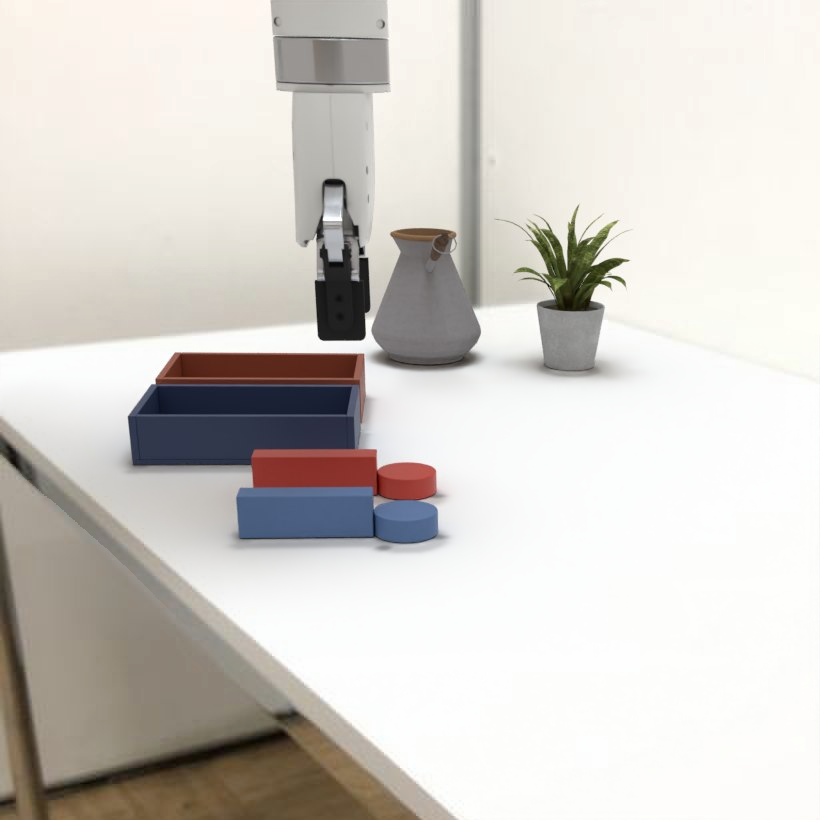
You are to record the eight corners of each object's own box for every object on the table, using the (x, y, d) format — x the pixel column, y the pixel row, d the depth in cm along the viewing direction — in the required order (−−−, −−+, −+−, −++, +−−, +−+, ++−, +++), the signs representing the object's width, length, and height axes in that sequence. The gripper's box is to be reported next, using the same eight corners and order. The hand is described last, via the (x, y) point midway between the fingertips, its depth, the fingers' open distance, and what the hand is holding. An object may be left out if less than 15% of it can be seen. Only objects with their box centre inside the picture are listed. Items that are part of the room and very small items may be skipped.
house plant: (493, 381, 134) (493, 211, 128) (486, 350, 147) (486, 194, 141) (635, 382, 136) (643, 214, 130) (616, 351, 149) (622, 197, 143)
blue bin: (132, 464, 106) (127, 416, 104) (155, 429, 115) (151, 383, 114) (355, 464, 108) (354, 416, 107) (360, 428, 117) (359, 384, 116)
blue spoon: (236, 544, 91) (233, 502, 90) (244, 522, 95) (241, 481, 94) (438, 542, 92) (438, 500, 91) (437, 521, 96) (437, 480, 95)
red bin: (159, 423, 117) (154, 378, 115) (178, 393, 126) (174, 352, 125) (361, 423, 119) (360, 379, 118) (365, 394, 128) (364, 353, 127)
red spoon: (251, 501, 99) (249, 462, 98) (258, 482, 103) (255, 444, 102) (436, 500, 101) (436, 461, 99) (436, 481, 105) (435, 444, 104)
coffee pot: (367, 345, 147) (362, 202, 142) (472, 343, 150) (472, 203, 144) (386, 395, 128) (381, 232, 123) (506, 392, 131) (507, 232, 125)
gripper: (286, 63, 98) (301, 303, 104) (261, 70, 82) (280, 352, 88) (391, 66, 99) (400, 303, 105) (387, 73, 83) (397, 351, 89)
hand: (345, 325), depth 97 cm, fingers open, 9 cm apart
